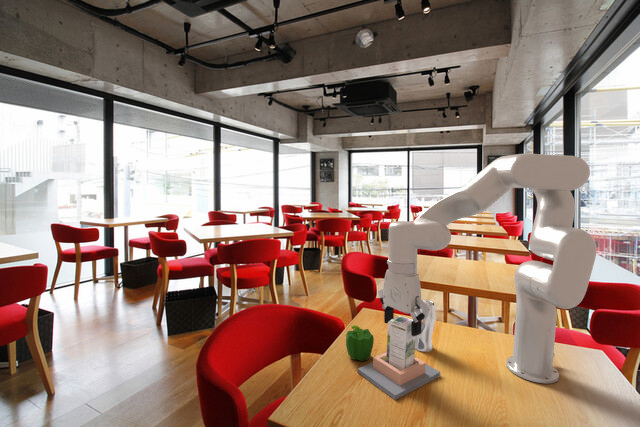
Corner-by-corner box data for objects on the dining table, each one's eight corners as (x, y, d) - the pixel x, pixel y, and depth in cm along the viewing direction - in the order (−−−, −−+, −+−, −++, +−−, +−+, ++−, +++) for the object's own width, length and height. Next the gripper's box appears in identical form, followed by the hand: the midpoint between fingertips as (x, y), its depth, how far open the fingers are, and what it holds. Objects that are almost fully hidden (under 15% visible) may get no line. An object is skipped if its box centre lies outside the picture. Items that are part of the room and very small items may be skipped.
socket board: (401, 354, 102) (401, 341, 102) (440, 376, 91) (440, 361, 90) (357, 372, 92) (357, 358, 92) (395, 400, 81) (395, 383, 80)
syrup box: (395, 362, 95) (397, 314, 94) (414, 370, 91) (416, 320, 90) (385, 370, 91) (386, 320, 90) (404, 379, 87) (406, 326, 86)
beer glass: (435, 354, 102) (437, 307, 101) (412, 351, 104) (414, 305, 102) (432, 343, 109) (434, 299, 108) (410, 341, 110) (412, 298, 109)
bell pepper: (375, 353, 103) (376, 322, 102) (369, 366, 95) (370, 333, 94) (350, 348, 106) (350, 318, 105) (342, 360, 98) (342, 328, 97)
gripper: (370, 263, 93) (370, 320, 95) (419, 277, 79) (418, 344, 81) (388, 259, 98) (388, 314, 99) (438, 271, 83) (437, 336, 85)
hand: (402, 328), depth 90 cm, fingers open, 9 cm apart
